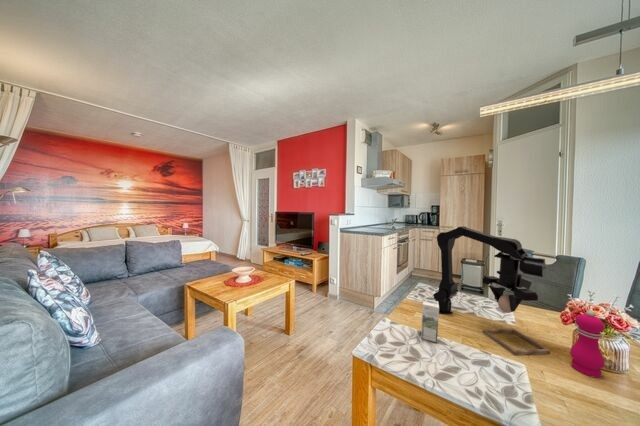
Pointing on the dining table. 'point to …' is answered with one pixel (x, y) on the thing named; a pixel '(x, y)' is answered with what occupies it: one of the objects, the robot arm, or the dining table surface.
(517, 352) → the walnut frame
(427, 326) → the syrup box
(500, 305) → the egg
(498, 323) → the dining table surface
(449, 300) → the robot arm
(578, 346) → the pepper mill
